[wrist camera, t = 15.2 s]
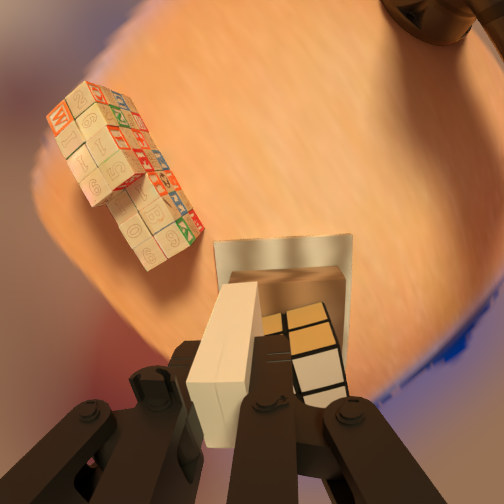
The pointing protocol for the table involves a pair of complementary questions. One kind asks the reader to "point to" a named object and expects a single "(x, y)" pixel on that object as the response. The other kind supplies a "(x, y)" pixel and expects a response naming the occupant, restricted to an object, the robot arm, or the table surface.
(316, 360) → the puzzle cube
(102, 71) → the table surface
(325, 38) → the table surface
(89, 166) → the stack of blocks
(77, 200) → the table surface
